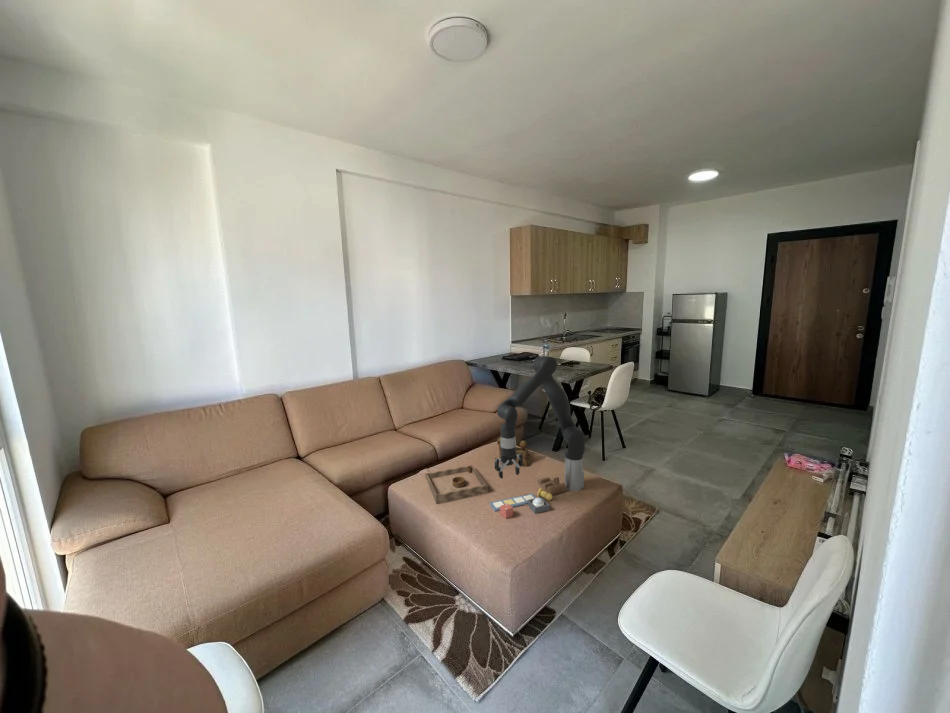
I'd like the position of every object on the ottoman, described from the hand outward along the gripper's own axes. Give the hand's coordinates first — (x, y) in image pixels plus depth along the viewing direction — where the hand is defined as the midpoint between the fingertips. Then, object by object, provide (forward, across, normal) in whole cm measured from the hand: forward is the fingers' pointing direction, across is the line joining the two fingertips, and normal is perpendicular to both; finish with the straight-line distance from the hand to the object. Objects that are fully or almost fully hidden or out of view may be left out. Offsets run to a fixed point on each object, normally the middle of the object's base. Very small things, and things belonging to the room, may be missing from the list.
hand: (509, 476), depth 187 cm
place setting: (+15, +15, -28) cm, 35 cm away
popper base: (+15, -11, +8) cm, 21 cm away
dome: (+14, -11, +8) cm, 20 cm away
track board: (+15, -2, 0) cm, 15 cm away
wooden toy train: (+15, -22, -40) cm, 48 cm away
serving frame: (+14, +20, -26) cm, 36 cm away
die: (+15, +6, +8) cm, 18 cm away
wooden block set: (+12, -22, -3) cm, 25 cm away
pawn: (+13, -17, -1) cm, 22 cm away
